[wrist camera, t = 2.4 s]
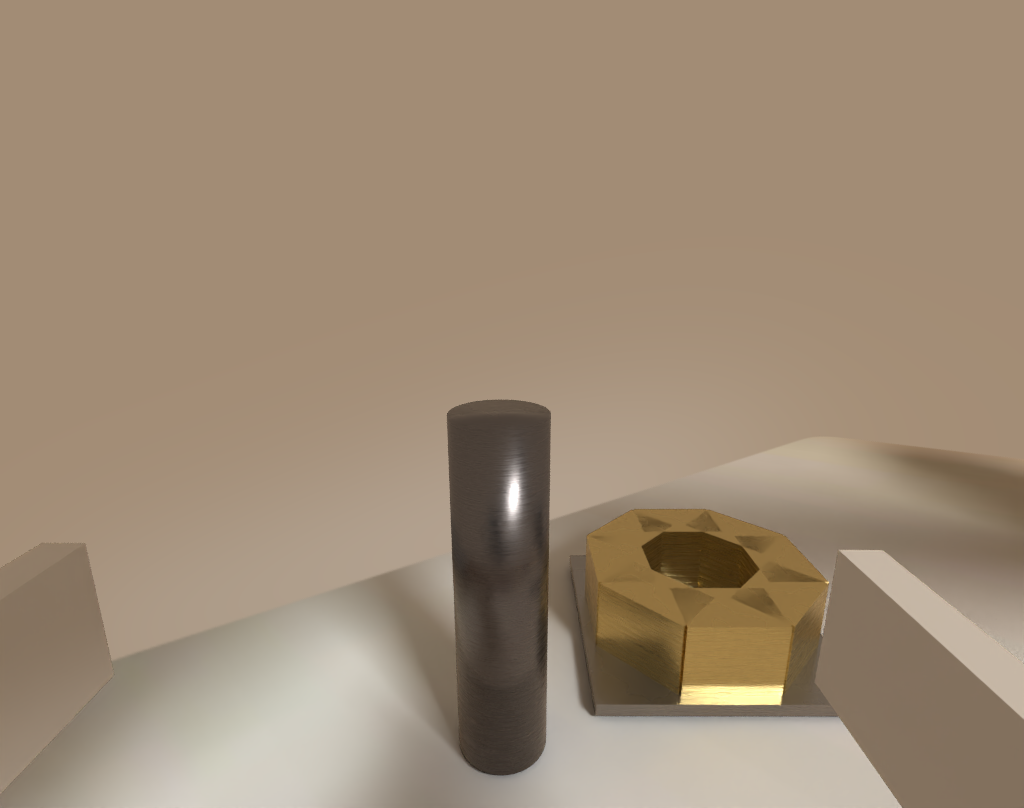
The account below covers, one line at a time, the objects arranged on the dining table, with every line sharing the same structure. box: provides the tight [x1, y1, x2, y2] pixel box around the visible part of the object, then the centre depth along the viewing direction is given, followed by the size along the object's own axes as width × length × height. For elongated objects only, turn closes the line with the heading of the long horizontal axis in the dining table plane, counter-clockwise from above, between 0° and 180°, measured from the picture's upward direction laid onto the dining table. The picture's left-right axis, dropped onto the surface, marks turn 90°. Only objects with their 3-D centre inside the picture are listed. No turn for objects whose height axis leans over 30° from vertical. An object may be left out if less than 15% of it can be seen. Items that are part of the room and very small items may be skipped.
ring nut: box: [570, 509, 838, 716], centre depth 29 cm, size 12×12×4 cm
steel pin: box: [447, 400, 551, 775], centre depth 21 cm, size 4×4×14 cm
